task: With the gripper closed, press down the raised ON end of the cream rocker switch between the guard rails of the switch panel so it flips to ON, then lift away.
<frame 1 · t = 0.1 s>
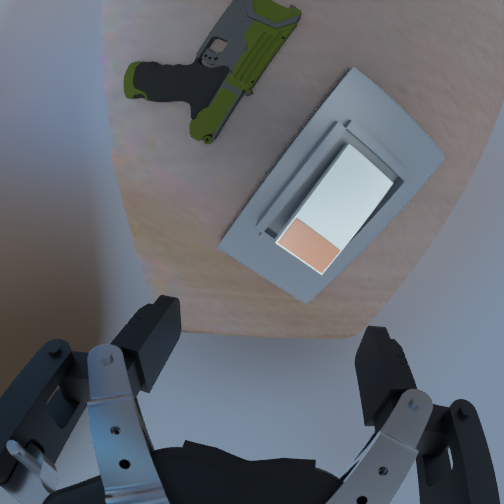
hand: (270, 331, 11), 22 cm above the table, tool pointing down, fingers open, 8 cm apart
panel: (330, 194, 30), on the table
rocker: (335, 210, 26), point 5 cm above the table, hinge at -12.0°
gun: (206, 51, 24), on the table
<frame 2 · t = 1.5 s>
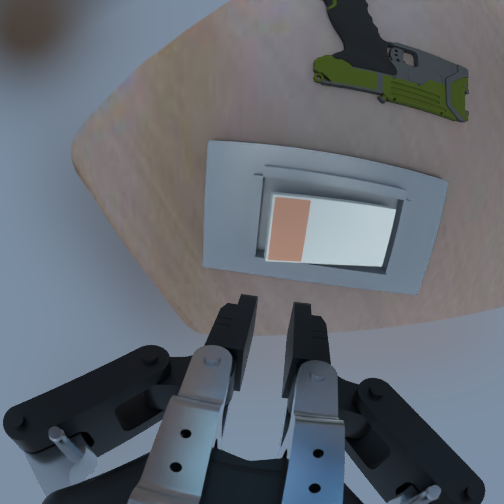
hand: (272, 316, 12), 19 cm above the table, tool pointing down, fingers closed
panel: (326, 217, 29), on the table
rocker: (333, 232, 24), point 5 cm above the table, hinge at -12.0°
gun: (395, 50, 21), on the table
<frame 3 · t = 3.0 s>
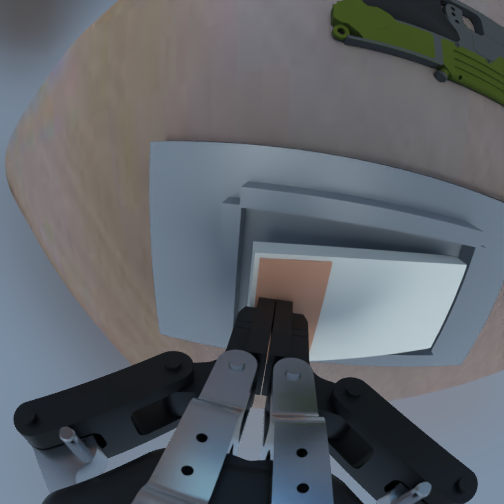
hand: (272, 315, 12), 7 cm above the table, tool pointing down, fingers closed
panel: (350, 266, 18), on the table
rocker: (366, 309, 13), point 5 cm above the table, hinge at -11.7°, touching gripper
gun: (447, 10, 9), on the table
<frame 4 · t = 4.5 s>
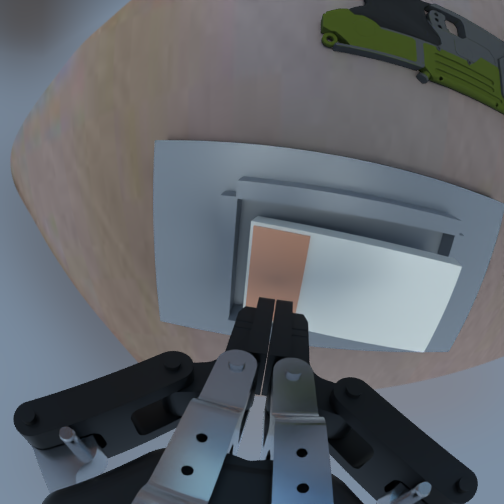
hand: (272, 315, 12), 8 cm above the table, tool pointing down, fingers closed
panel: (337, 255, 19), on the table
rocker: (350, 290, 15), point 5 cm above the table, hinge at 10.6°
gun: (432, 16, 11), on the table
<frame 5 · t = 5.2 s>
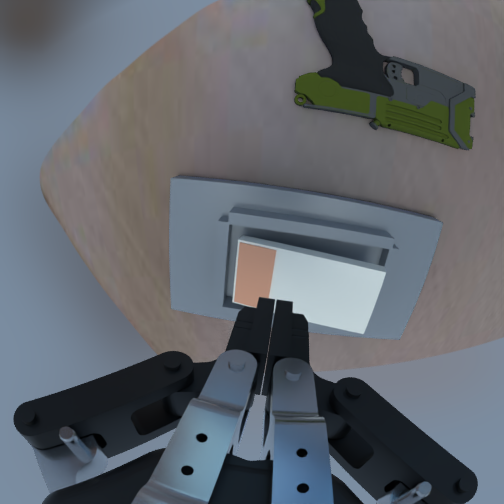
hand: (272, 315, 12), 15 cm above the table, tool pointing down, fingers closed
panel: (303, 261, 27), on the table
rocker: (305, 286, 22), point 5 cm above the table, hinge at 10.9°
gun: (393, 64, 19), on the table
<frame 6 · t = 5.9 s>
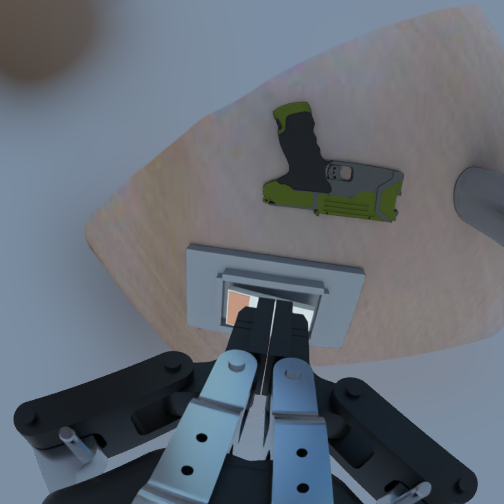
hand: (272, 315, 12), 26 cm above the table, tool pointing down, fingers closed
panel: (270, 297, 42), on the table
rocker: (268, 316, 38), point 5 cm above the table, hinge at 10.9°
gun: (336, 162, 34), on the table
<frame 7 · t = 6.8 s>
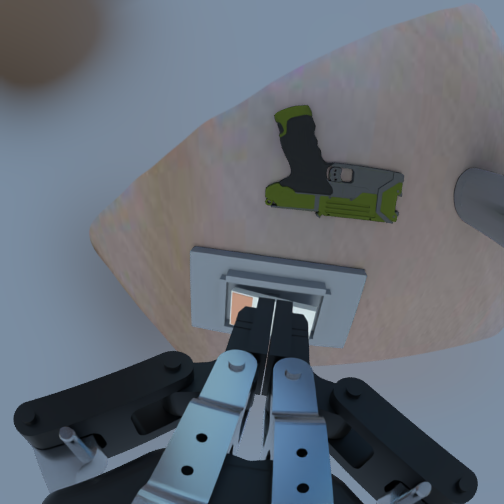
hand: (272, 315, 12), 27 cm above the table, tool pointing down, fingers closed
panel: (273, 298, 43), on the table
rocker: (270, 316, 38), point 5 cm above the table, hinge at 10.9°
gun: (337, 164, 35), on the table
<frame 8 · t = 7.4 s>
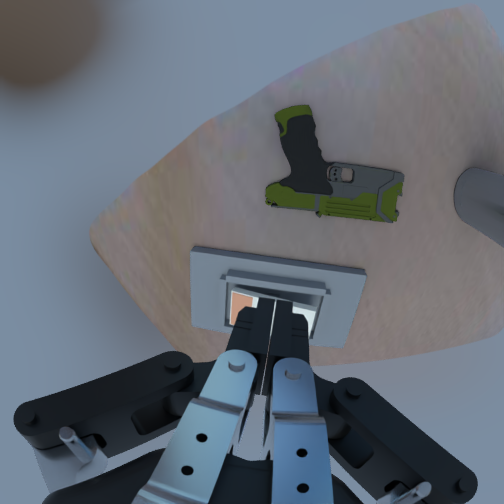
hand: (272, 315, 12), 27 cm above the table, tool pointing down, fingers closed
panel: (273, 298, 43), on the table
rocker: (270, 316, 38), point 5 cm above the table, hinge at 10.9°
gun: (338, 163, 35), on the table
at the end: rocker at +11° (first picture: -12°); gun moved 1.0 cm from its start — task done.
